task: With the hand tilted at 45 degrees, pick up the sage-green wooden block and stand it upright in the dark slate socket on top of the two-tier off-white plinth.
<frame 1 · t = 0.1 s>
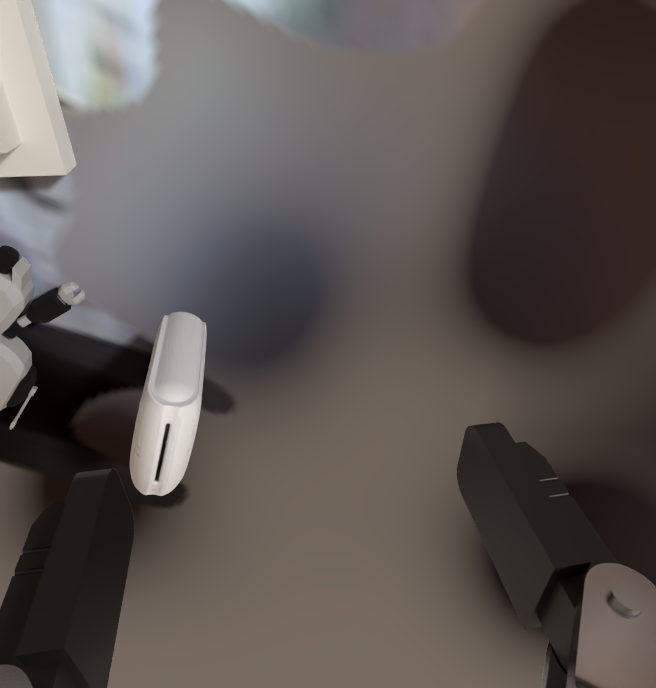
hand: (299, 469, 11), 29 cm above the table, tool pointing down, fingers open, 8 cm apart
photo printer: (177, 357, 44), on the table
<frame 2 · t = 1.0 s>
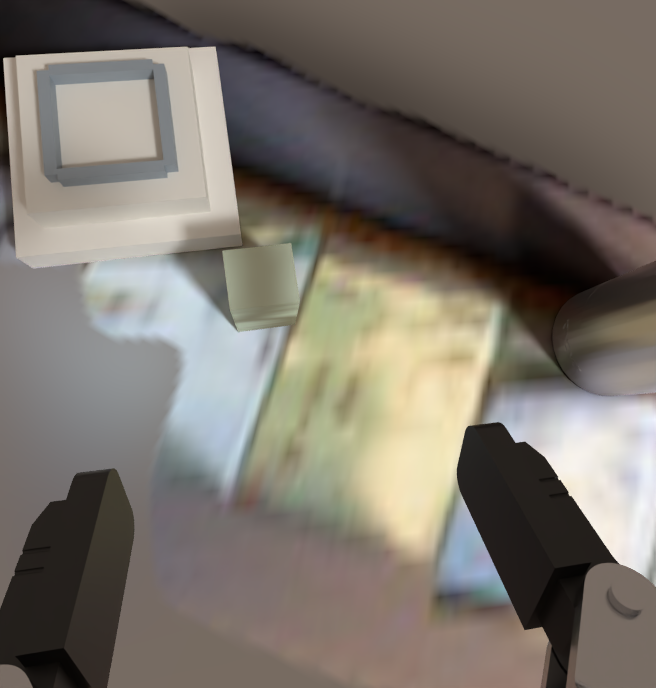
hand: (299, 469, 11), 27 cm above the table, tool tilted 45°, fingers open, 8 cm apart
block: (263, 304, 39), on the table
plinth: (131, 163, 40), on the table
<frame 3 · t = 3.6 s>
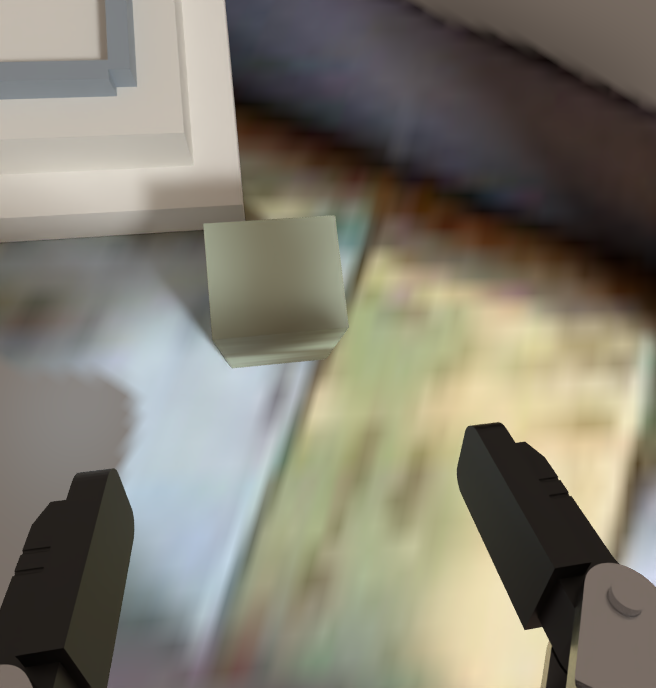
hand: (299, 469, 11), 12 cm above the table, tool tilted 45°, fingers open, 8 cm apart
block: (275, 323, 24), on the table
plinth: (72, 87, 25), on the table
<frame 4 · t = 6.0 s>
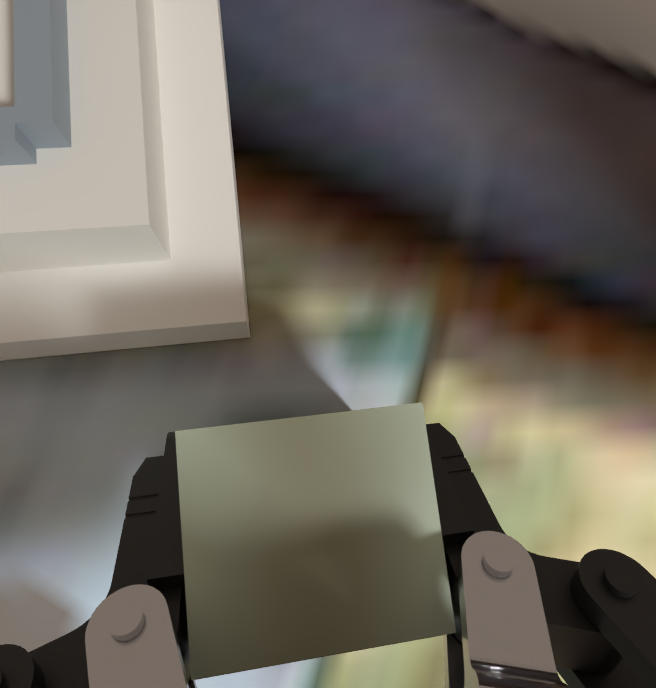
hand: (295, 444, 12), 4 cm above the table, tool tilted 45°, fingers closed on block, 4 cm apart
block: (295, 484, 16), on the table, touching gripper
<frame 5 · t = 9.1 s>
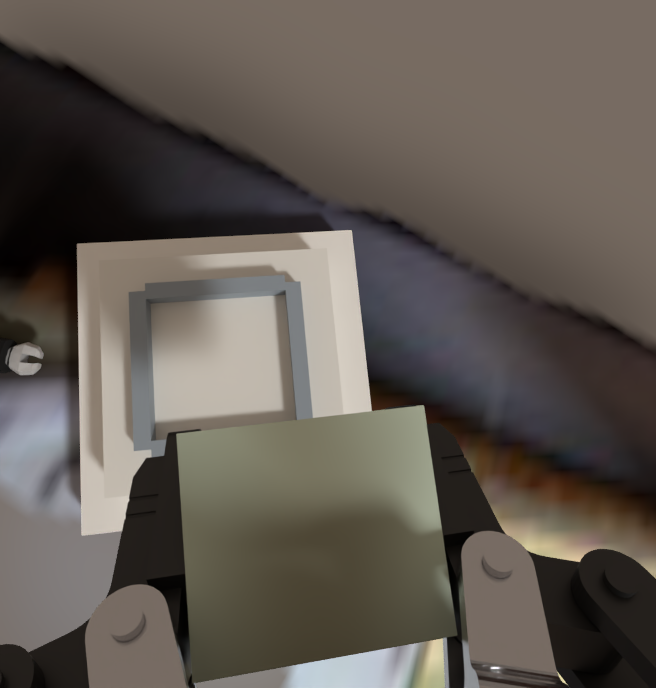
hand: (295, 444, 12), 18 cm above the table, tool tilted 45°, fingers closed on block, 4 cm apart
block: (295, 485, 16), point 14 cm above the table, touching gripper
plinth: (231, 375, 30), on the table
when the fingers open (11 cm above the table, at t = 12.1 s): block drops 2 cm, resting on plinth.
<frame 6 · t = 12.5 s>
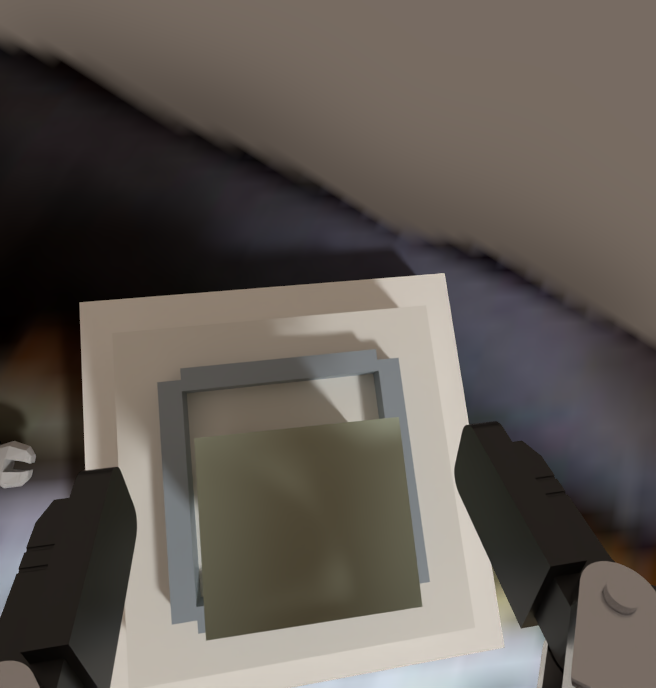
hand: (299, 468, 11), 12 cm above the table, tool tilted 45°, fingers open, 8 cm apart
block: (293, 483, 18), point 5 cm above the table, touching plinth
plinth: (287, 468, 23), on the table
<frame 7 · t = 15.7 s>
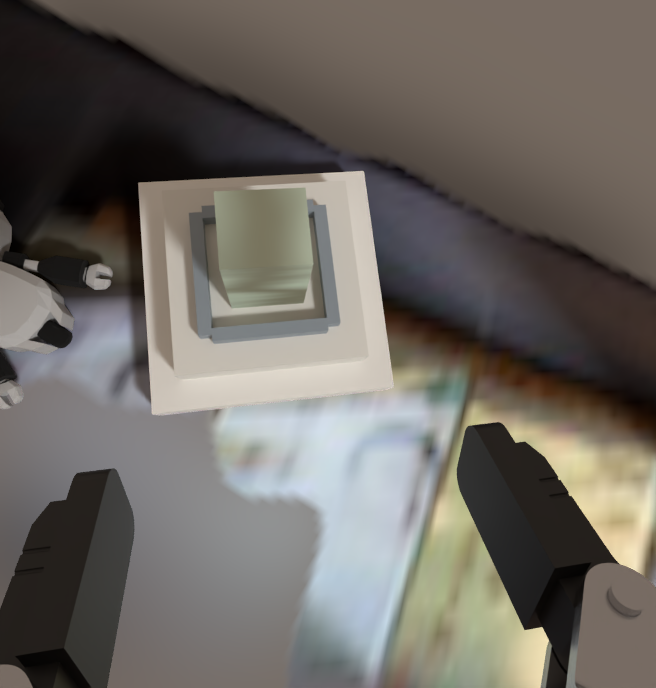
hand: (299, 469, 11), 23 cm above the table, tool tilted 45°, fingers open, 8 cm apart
block: (265, 275, 31), point 5 cm above the table, touching plinth
plinth: (265, 294, 36), on the table
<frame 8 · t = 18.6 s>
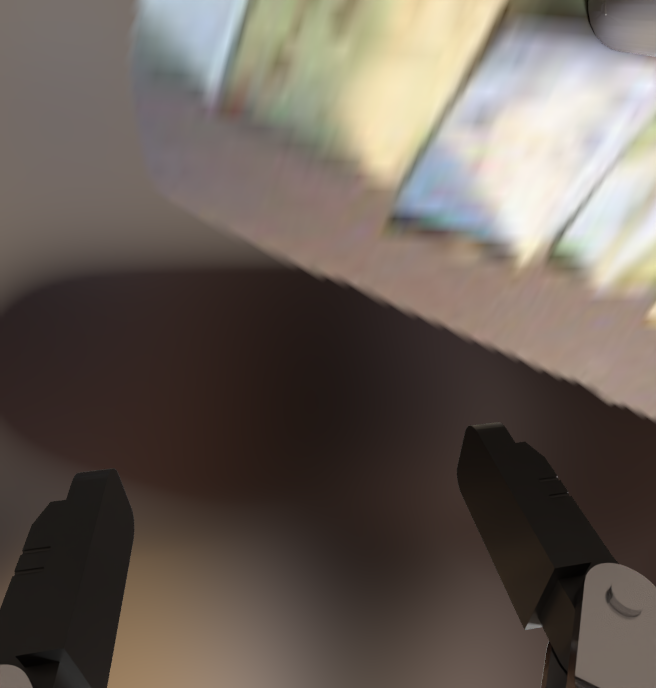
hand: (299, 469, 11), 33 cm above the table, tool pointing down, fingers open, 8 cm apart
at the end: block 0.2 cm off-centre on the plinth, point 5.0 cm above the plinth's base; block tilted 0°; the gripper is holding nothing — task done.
